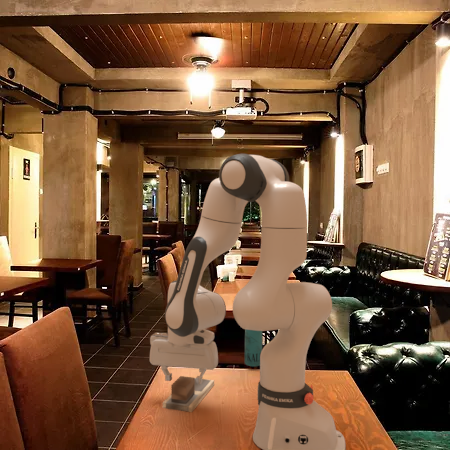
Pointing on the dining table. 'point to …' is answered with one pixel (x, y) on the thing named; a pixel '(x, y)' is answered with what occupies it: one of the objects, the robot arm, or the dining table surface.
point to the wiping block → (182, 389)
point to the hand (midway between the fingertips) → (183, 381)
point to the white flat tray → (195, 400)
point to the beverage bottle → (253, 347)
